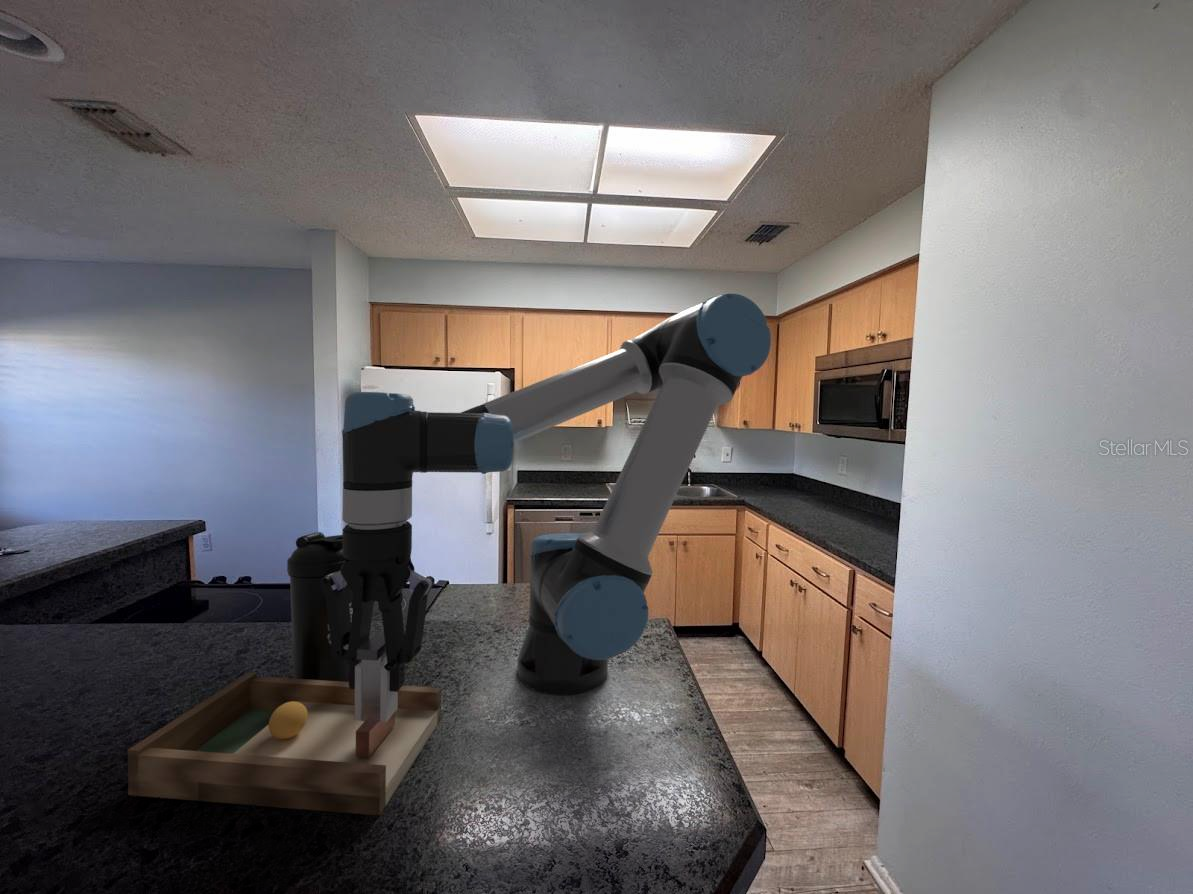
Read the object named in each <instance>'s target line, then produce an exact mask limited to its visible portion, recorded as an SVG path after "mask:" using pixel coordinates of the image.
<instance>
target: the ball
mask: <svg viewBox="0 0 1193 894" xmlns="http://www.w3.org/2000/svg"><path fill="white" fill-rule="evenodd" d="M307 717H308V713H307V709H306V707H305V706H304V705H303V704H301V703H299V702H295V701H292V702H287V703H285V704H283V705H281V706H279V707H278V708H277V709H276V710H275V711H274V712H273V714H272V715H271V717H270V720H269V731H270V733H271V734H272V735H273V736H274V737H276V738H278V739H288V738H291V737H293V736H295V735H296V734H298V733H299V732H300V731H301V730H302V729H303V727H304V726H305V724H306V721H307Z"/></svg>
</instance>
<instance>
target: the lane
mask: <svg viewBox="0 0 1193 894" xmlns="http://www.w3.org/2000/svg"><path fill="white" fill-rule="evenodd" d="M292 701H295V702H299V703H301V704H303V705H304V706H305V707H306V709H307V713H308V717H307V721H306V724H305V726H304V727H303V729H302V730H301V731H300V732H299V733H298V734H296V735H295V736H293V737H291V738H288V739H278V738H276V737H274V736H273V735H272V734H271V733H270V731H269V720H270V717H271V715H272V714H273V712H274V711H275V710H276V709H277V708H278V707H279V706H281V705H283V704H285V703H287V702H292ZM441 717H442V687H433V686H416V685H403V686H402V687H401V688H400V689H399V690H398V709H397V710H396V711H395V725H394V726H393V727H392V729H391V730H390V731H389V733H388V734H387V735H386V736H385V738H384V739H383V740H382V742H381V743H380V744H379V745H378V747H377V748H376V749H375V750H374V752H373V753H372V754H371V756H370V757H356V730H357V729H358V728H359V727H360V726H361V725H362V724H363V723H364V721H360V720H355V689H350V687H349V682H340V681H324V680H309V679H294V677H293V678H292V677H291V678H290V677H289V678H288V677H275V676H259V675H258V673H257V672H250V671H249V672H247V673H245V674H244V675H242V676H241V677H239V678H237V679H236V680H234V681H233V682H232V683H230V684H228V685H226V686H225V687H223V688H222V689H220V690H218V691H217V692H216V693H214V694H213V695H211V696H209V697H207V698H206V699H205V700H203V701H202V702H200V703H199V704H197V705H195V706H194V707H192V708H191V709H189V710H187V711H186V712H185V713H182V714H181V715H180V716H179V717H176V718H175V719H174V720H172V721H171V722H169V723H167V724H166V725H165V726H163V727H161V728H159V729H158V730H156V731H155V732H153V733H152V734H150V735H149V736H147V737H146V738H144V739H142V740H141V741H139V742H138V743H136V744H135V745H133V746H131V747H130V748H128V749H127V783H128V784H127V785H128V786H127V787H128V789H127V791H128V792H127V793H128V796H133V797H134V796H137V797H147V798H159V797H160V799H172V800H173V799H174V800H183V801H185V800H186V801H194V802H195V801H196V802H211V803H221V804H222V803H223V804H234V805H235V804H236V805H245V806H246V805H247V806H257V807H258V806H259V807H271V808H283V809H294V810H306V811H320V812H321V811H322V812H331V813H332V812H333V813H344V814H355V815H357V814H358V815H369V816H381V814H382V813H383V812H384V809H385V808H386V806H387V805H388V803H389V801H390V800H391V798H392V797H393V795H394V793H395V792H396V790H397V789H398V787H399V786H400V785H401V783H402V781H403V779H404V778H405V777H406V774H407V773H408V772H409V770H410V768H411V767H412V766H413V763H414V762H415V760H416V759H417V757H418V756H419V755H420V753H421V751H422V750H423V748H424V747H425V745H426V744H427V742H428V740H429V738H430V737H431V735H432V734H433V733H434V731H435V730H436V728H437V726H438V725H439V723H440V721H441V719H442V718H441Z"/></svg>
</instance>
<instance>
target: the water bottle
mask: <svg viewBox="0 0 1193 894" xmlns="http://www.w3.org/2000/svg"><path fill="white" fill-rule="evenodd" d="M342 543H343V534H338V535H336V534H335V535H328V536H325V534H324V533H323V532H321V531H318V532H313V533H309V534H306V535H302V536H300V537H298V538H297V539H296V541H295V545H296V549H294V551H293V552H292V554H291V555H290V557H288V559H287V561H286V562H287V563H286V564H287V565H286V568H287V571H286V572H287V576H289V583H290V584H289V585H290V612H291V613H290V614H291V615H290V616H291V640H292V641H291V644H292V671H293V672H292V674H293V679H309V680H324V681H340V682H349V664H348V663H347V661H346V660H345V659H342V658H339V659H335V658H334V657H333V656H332V650H331V641H330V632H329V623H328V613H327V604H326V597H325V595H324V593H323V591H322V588H321V586H320V584H319V581H320V579H321V578H323V577H325V576H327V575H329V574H331V573H334V572H339V571H341V567H342V565H343V563H344V560H345V557H344V556H343V554H342ZM346 587H347V590H348V598H349V607H350V617H351V620H352V613H353V609H352V608H351V603H352V595H353V591H352V590H351V588H350V587H349V585H348V584H347V585H346Z"/></svg>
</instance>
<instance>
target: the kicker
mask: <svg viewBox="0 0 1193 894" xmlns="http://www.w3.org/2000/svg"><path fill="white" fill-rule="evenodd" d="M357 660H362V711H361V721H364V723H363V724H362V725H361V726H360V727H359V728H358V729H357V730H356V757H370V756H371V754H372V753H373V752H374V750H375V749H376V748H377V747H378V745H379V744H380V743H381V742H382V740H383V739H384V738H385V736H386V735H387V734H388V733H389V731H390V730H391V729H392V727H393V726H394V725H395V712H394V714H393V715H392V716H391V717H390V718H389V720H388V721H387V722H380V688H381V667H382V666H383V665H384V664H386V663H387V656H386V647H385V638H384V632H377V633H375V634H374V635H373V636H372V637H371V638H370V637H369V640H368V641H367V642H365V643H364V644H363V645H362V646H361V647H359V648H358V649H357Z"/></svg>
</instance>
